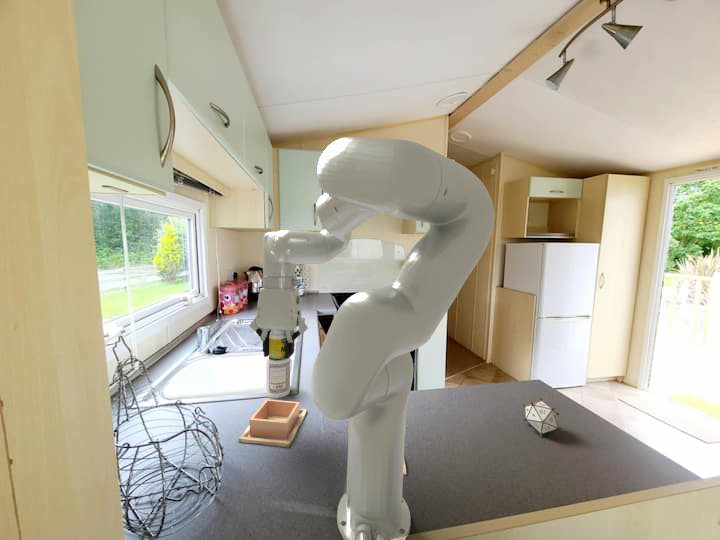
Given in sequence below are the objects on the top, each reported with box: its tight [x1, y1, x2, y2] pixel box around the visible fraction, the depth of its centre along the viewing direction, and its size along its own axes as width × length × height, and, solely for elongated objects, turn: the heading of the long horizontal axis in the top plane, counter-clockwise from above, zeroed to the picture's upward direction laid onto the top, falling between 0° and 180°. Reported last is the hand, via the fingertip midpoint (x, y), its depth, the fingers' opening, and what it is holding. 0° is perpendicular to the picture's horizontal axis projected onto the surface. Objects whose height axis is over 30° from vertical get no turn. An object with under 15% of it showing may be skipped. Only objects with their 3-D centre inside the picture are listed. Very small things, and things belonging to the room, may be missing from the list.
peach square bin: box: [249, 399, 301, 439], centre depth 71 cm, size 9×9×4 cm
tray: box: [238, 408, 308, 448], centre depth 71 cm, size 14×12×2 cm
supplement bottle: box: [269, 330, 287, 363], centre depth 70 cm, size 5×5×8 cm
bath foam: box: [266, 355, 291, 399], centre depth 87 cm, size 7×7×20 cm
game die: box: [521, 397, 563, 438], centre depth 73 cm, size 9×8×10 cm
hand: (278, 355), depth 70 cm, fingers closed on supplement bottle, 4 cm apart
